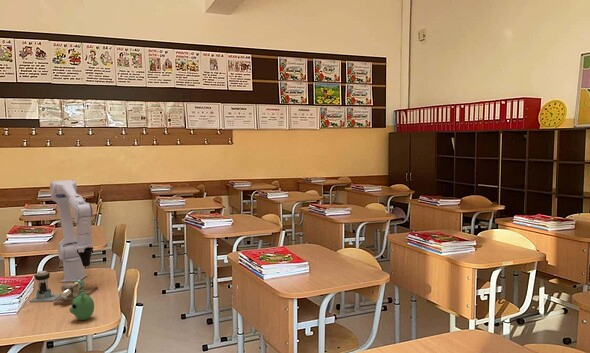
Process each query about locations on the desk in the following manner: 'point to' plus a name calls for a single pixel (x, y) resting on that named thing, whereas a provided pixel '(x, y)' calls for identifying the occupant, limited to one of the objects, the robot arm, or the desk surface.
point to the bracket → (74, 293)
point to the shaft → (71, 289)
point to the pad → (51, 298)
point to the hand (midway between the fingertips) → (86, 265)
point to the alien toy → (82, 306)
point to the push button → (43, 285)
